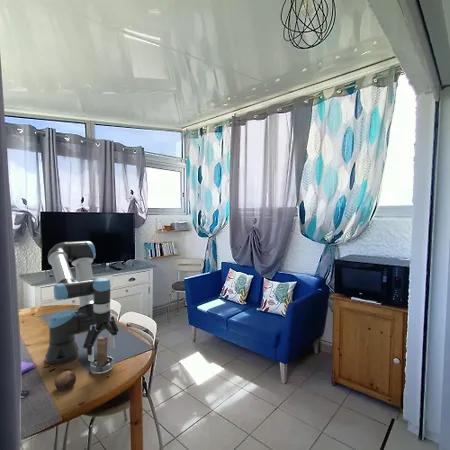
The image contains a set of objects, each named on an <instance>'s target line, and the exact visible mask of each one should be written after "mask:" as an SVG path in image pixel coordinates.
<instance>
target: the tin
mask: <svg viewBox="0 0 450 450" xmlns="http://www.w3.org/2000/svg"><path fill="white" fill-rule="evenodd" d="M114 360H115V359H114V358H113V357H112V356H110V355H107V365H104V366H103V364H101V363H97V357H96V358H95V357H94V361H93V362H92V361H90V364H89V367H90V369H89V370H90V372H91V374H93V375H103V374H107V373H109V372H111V371H112V369H113V368H114Z"/></svg>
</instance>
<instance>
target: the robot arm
mask: <svg viewBox="0 0 450 450" xmlns="http://www.w3.org/2000/svg"><path fill="white" fill-rule="evenodd" d="M47 254H48V255H47V261H48V264H49V265H51V268H52V272H53V275H54V278H55V282H56V284H54V285H53V297H54V300H56V301H61V300H64V301H65V300H68V299H69V300H70V299H75V298H78V299H79V301H78V302H79V306H78V308H77V311H75V309H64V310H60V311H58V312H55V313H53V314H52V315H51V316H50V317H49V320H48V346H47V347H48V348H47V351H46V353H45V356H44V357H45V358H44V361H45V363H47V364H48V365H62V364H65V363H68V362H71V361H72V360H73V361H74V360H75V359H77V357H78V356H79V353H80V352H79V351H80V350H79V347H78V343H77V342H76V336H77V335H81V334H85V333H87V334H86V337H85V339H84V342H83V346H82V348H83V349H87V350H86V353H87V361H88V362H91V361H92V362H93V361H94V359H95V347H94V345H95V343H96V342H97V338H99V334H101V332H103V331H104V330H107V331H108V333H110V334H109V337H108V338H109V340H108V341H109V347H108V348H111V349H115V348H116V346H115V345H116V344H115V343H116V335H118V332H119V328H118V325H117V324H116V321H115V316H114V315H113V316H112V315H111V279H110V278H108V277H107V278H106V277H100V278H98V277H94V275H93V268H92V263H93V262H94V259H96V255H97V254H96V248H95V244H94V243H93V242H92V241H90V240H82V241H81V240H80V241H63V242H59V243H56V244H54V246H53V247H52V248H51V249H50V250H49V251H48V253H47ZM69 262H71V265H72V267H74V268H75V276H76V277H75V278H76V281H75V280H74V279H75V278H74V276H73V273H72V271H71V268H70V265H69Z"/></svg>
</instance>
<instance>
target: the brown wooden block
mask: <svg viewBox="0 0 450 450" xmlns="http://www.w3.org/2000/svg"><path fill="white" fill-rule="evenodd" d="M107 356H108V337H105V336H98V337H97V339H96V358H97V363H101V364H103V366H104V365H107Z"/></svg>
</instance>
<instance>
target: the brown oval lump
mask: <svg viewBox="0 0 450 450" xmlns="http://www.w3.org/2000/svg"><path fill="white" fill-rule="evenodd" d="M76 380H77V376H76V374H75V372H74V371H72V370H66V371H63V372H61V373H60V374H59V375H58V376H57V377H55V379H54V387H55V388H56V389H57V390H58V391H66V390H69V389H70V388H72V387H73V386H74V385H75V383H76Z"/></svg>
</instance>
